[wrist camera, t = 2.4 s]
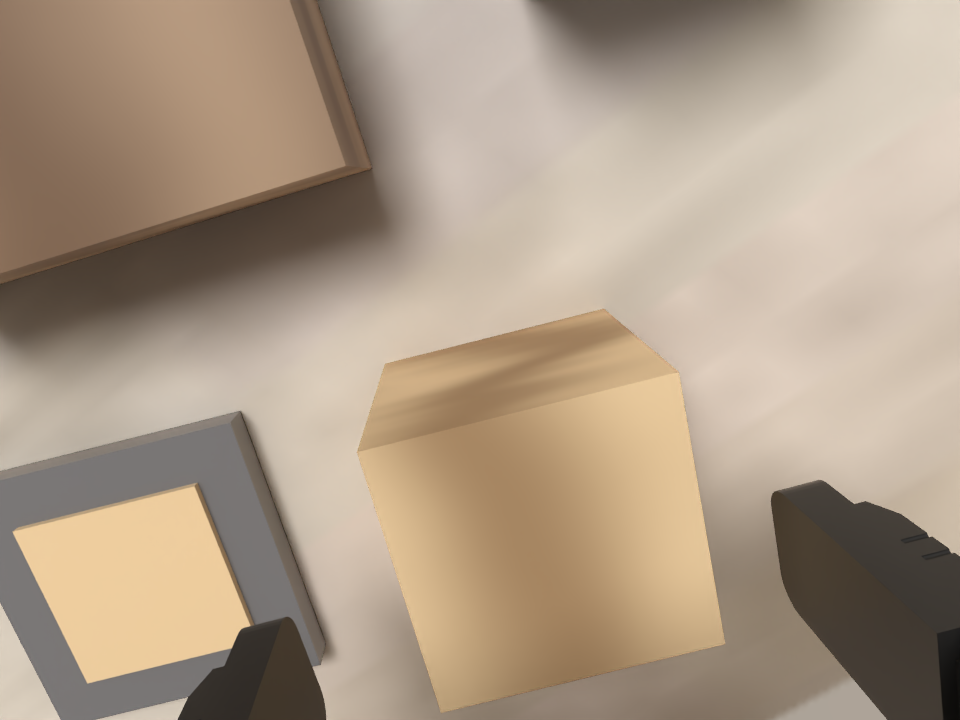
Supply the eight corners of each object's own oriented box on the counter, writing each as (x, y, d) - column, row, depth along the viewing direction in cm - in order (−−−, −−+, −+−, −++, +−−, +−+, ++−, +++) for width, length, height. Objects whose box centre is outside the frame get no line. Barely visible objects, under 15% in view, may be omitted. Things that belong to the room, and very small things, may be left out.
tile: (240, 411, 16) (227, 425, 16) (325, 644, 18) (319, 670, 17) (-33, 479, 17) (-63, 498, 16) (80, 704, 18) (60, 733, 18)
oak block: (603, 308, 16) (678, 372, 11) (642, 504, 18) (725, 643, 13) (385, 362, 16) (357, 452, 11) (442, 554, 18) (440, 712, 13)
